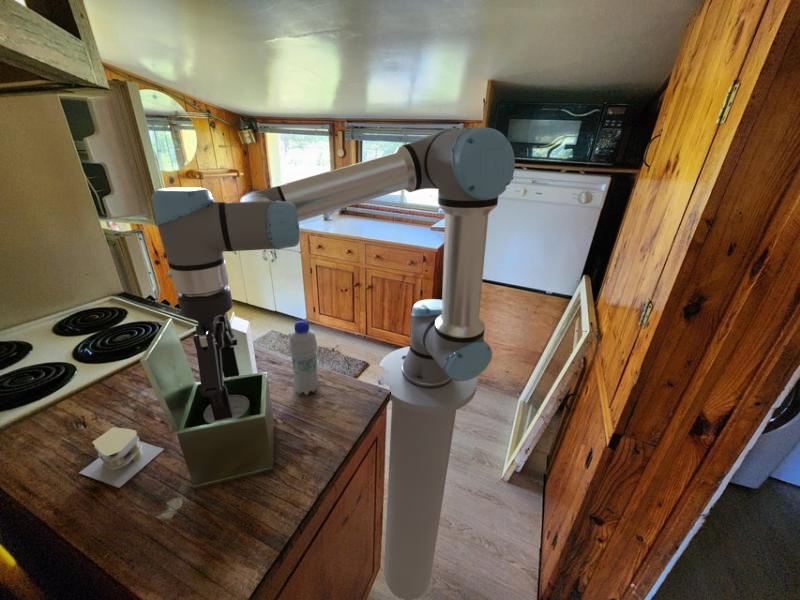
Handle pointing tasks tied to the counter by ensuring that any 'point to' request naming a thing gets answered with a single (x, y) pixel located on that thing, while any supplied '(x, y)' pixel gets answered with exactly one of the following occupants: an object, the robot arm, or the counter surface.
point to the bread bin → (229, 435)
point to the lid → (169, 373)
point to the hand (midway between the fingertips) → (228, 395)
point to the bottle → (304, 358)
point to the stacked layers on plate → (119, 456)
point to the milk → (243, 346)
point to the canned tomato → (238, 407)
